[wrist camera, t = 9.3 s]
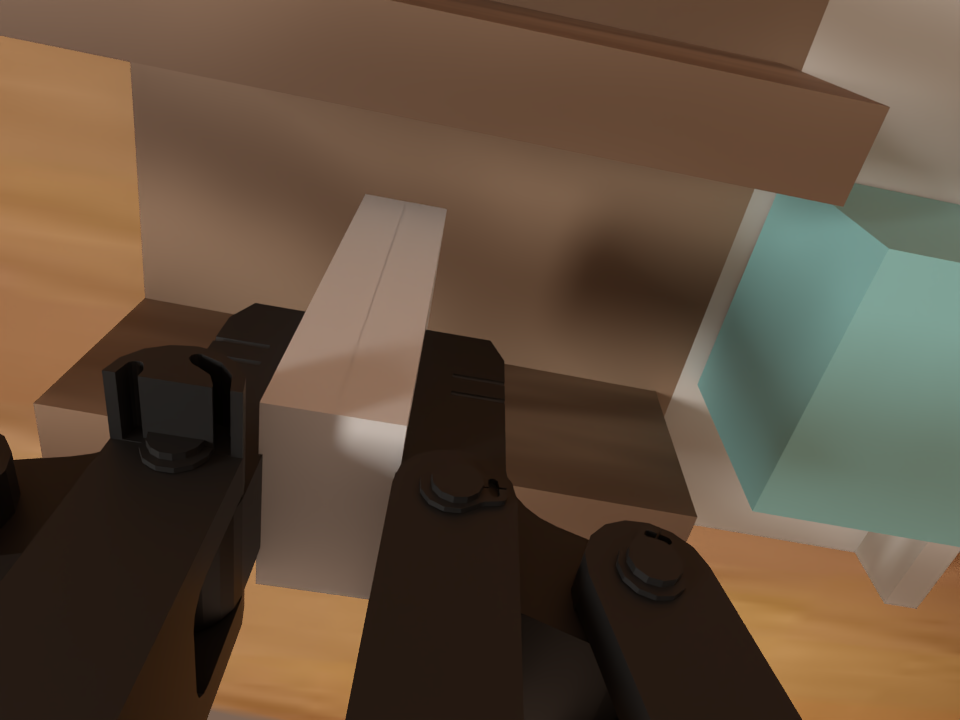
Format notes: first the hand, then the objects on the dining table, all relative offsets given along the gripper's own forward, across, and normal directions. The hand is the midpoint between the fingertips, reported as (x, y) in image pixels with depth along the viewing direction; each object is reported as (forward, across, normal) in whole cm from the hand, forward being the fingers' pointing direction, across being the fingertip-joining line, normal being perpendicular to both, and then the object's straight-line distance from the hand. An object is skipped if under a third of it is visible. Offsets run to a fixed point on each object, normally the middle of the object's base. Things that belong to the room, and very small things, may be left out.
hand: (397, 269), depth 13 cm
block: (+4, +12, -1) cm, 12 cm away
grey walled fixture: (+5, +4, -1) cm, 7 cm away
